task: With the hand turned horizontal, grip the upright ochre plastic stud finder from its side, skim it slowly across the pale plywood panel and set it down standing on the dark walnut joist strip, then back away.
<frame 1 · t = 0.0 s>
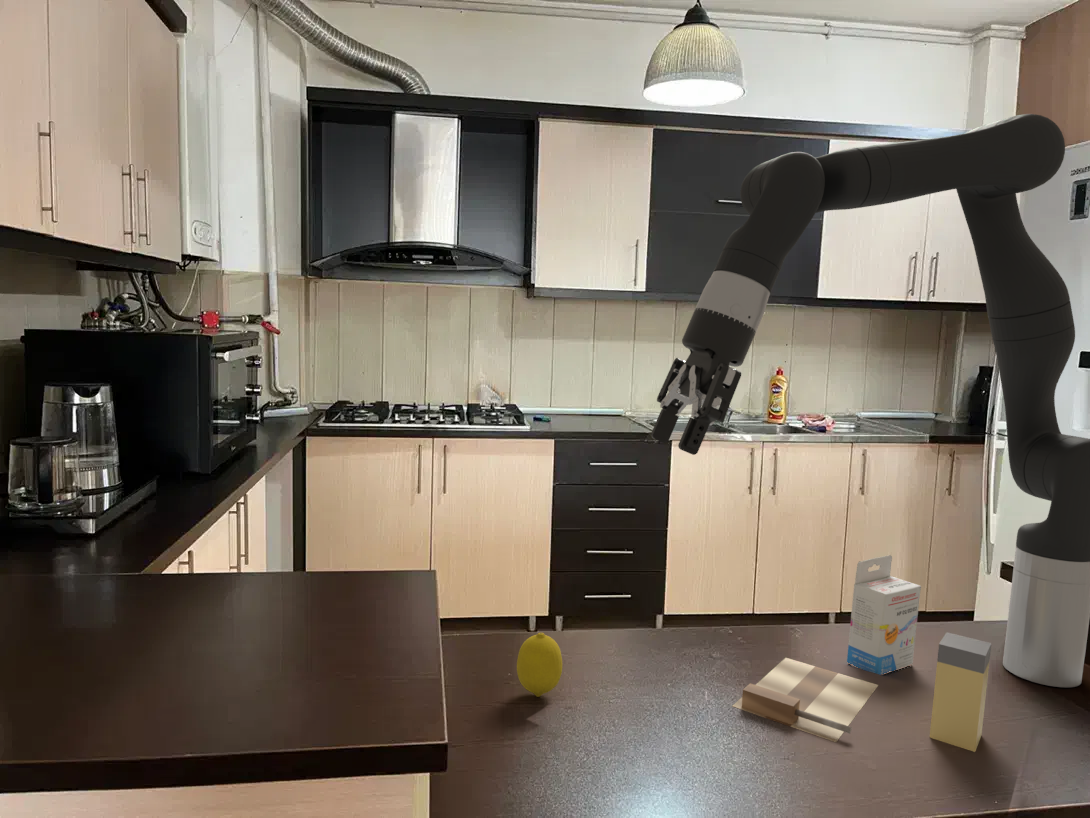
hand: (671, 446, 90), 31 cm above the counter, tool tilted 20°, fingers open, 8 cm apart
awl: (786, 718, 88), point 1 cm above the counter, touching plywood panel
lemon: (538, 697, 94), on the counter
plywood panel: (807, 704, 95), on the counter
ink box: (879, 666, 107), on the counter
stud finder: (954, 746, 86), on the counter
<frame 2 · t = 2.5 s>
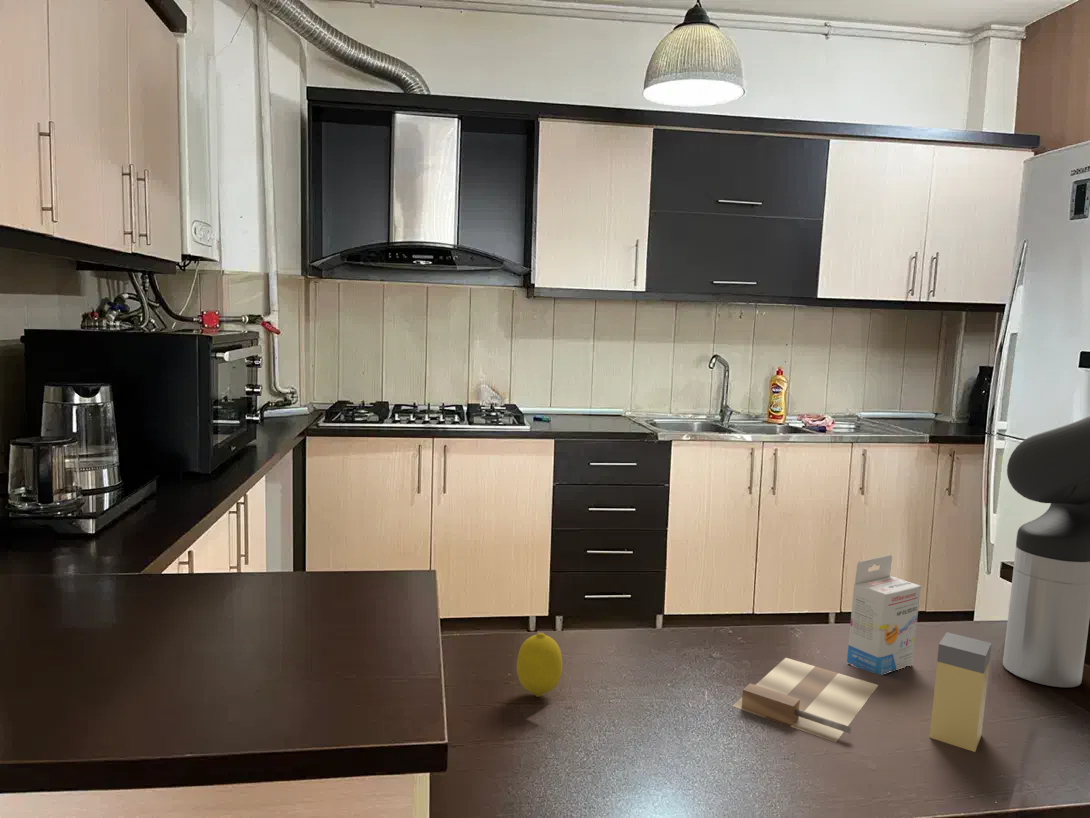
nothing on the counter moved.
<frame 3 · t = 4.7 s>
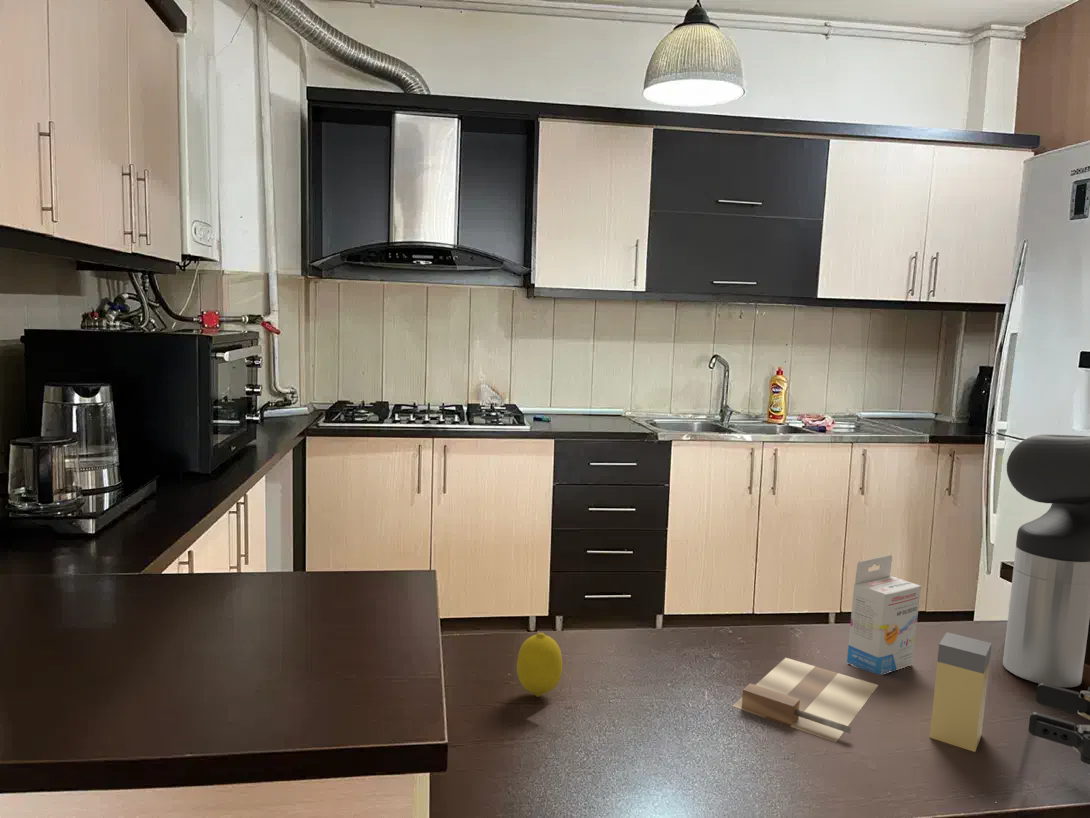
hand: (1033, 706, 81), 7 cm above the counter, tool horizontal, fingers open, 8 cm apart
nothing on the counter moved.
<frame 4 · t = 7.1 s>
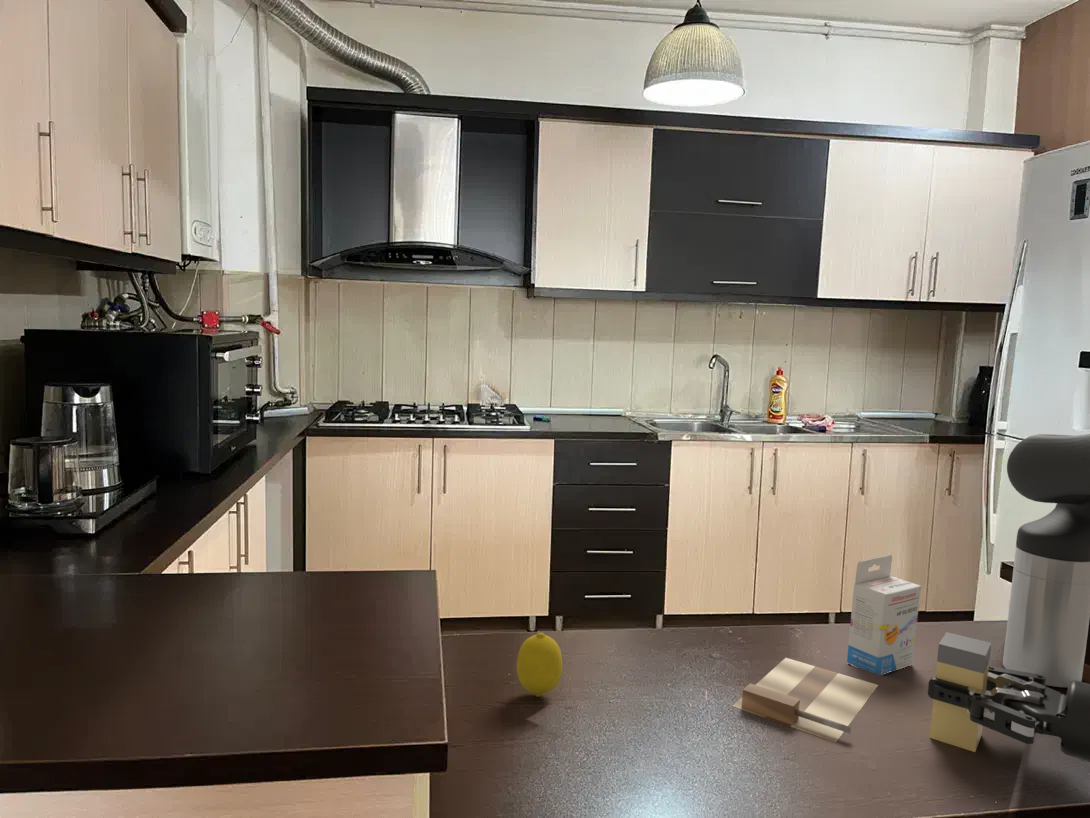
hand: (934, 679, 87), 7 cm above the counter, tool horizontal, fingers closed on stud finder, 4 cm apart
stud finder: (954, 746, 86), on the counter, touching gripper
everything else where it was.
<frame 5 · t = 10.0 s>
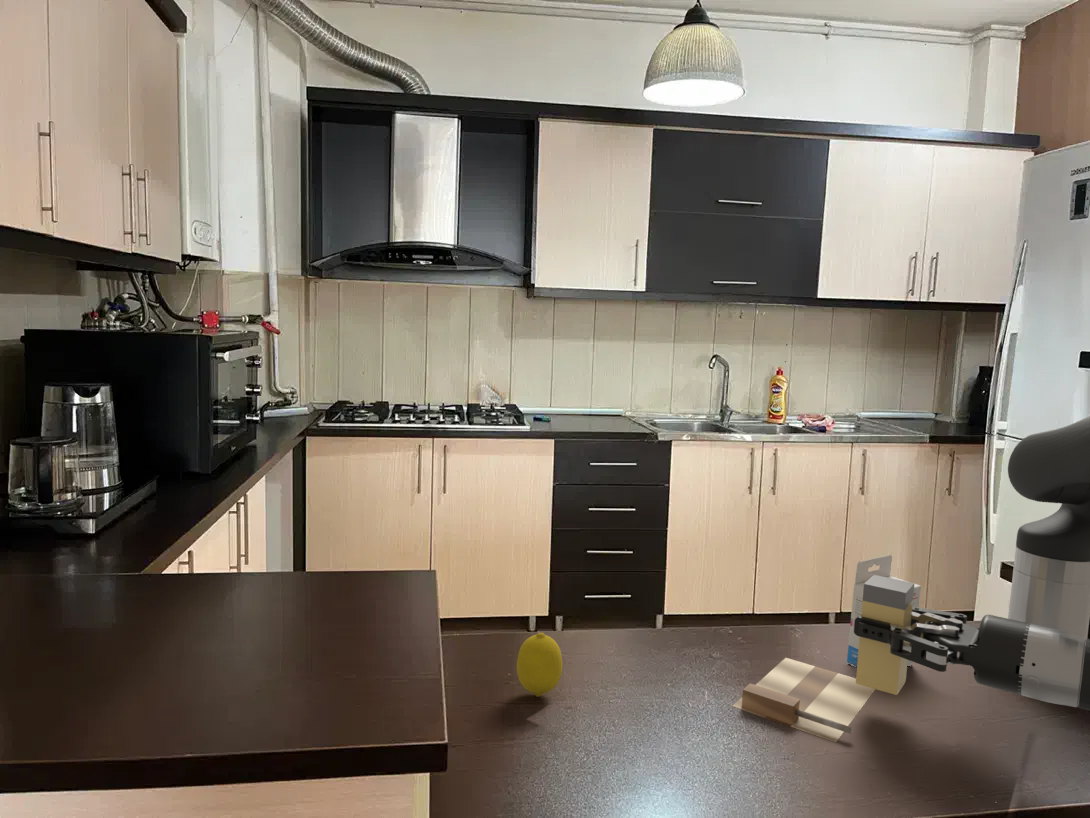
hand: (861, 619, 91), 12 cm above the counter, tool horizontal, fingers closed on stud finder, 4 cm apart
stud finder: (880, 682, 91), point 5 cm above the counter, touching gripper
everything else where it was.
when the fingers open (9 cm above the counter, at t = 12.9 s): stud finder drops 1 cm, resting on plywood panel.
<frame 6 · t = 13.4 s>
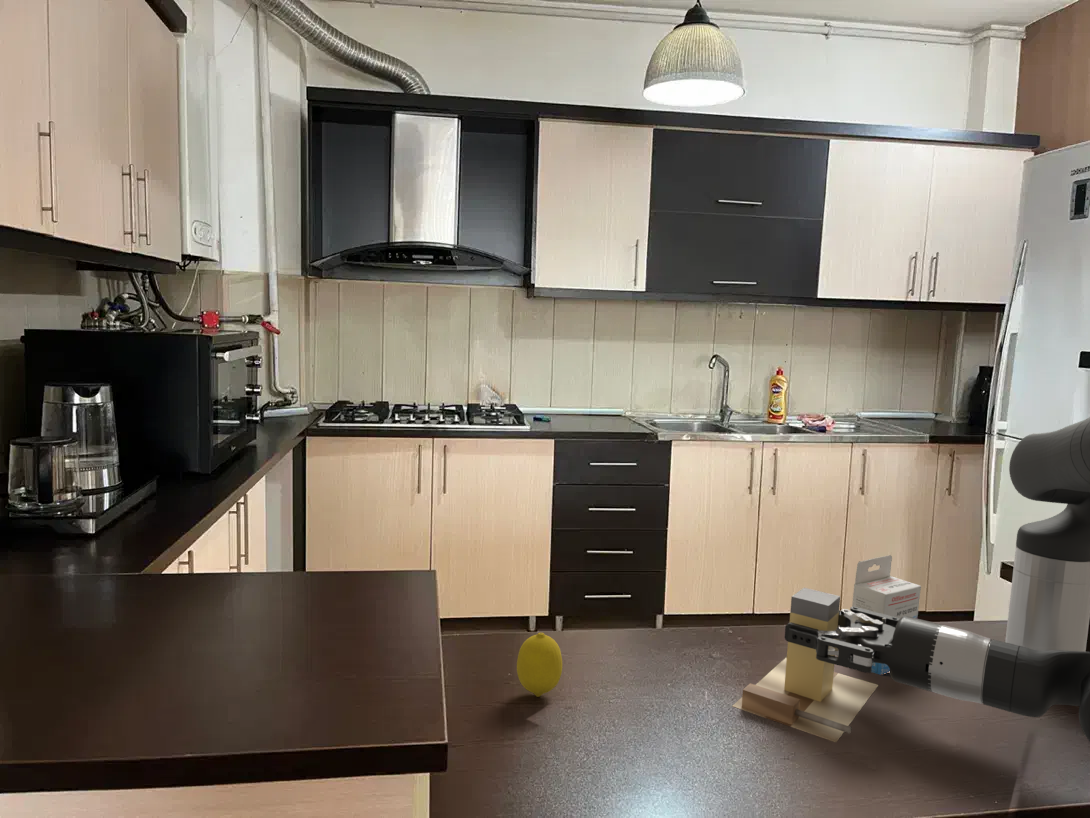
hand: (797, 621, 96), 10 cm above the counter, tool horizontal, fingers open, 8 cm apart
stud finder: (808, 689, 96), point 1 cm above the counter, touching plywood panel
everything else where it was.
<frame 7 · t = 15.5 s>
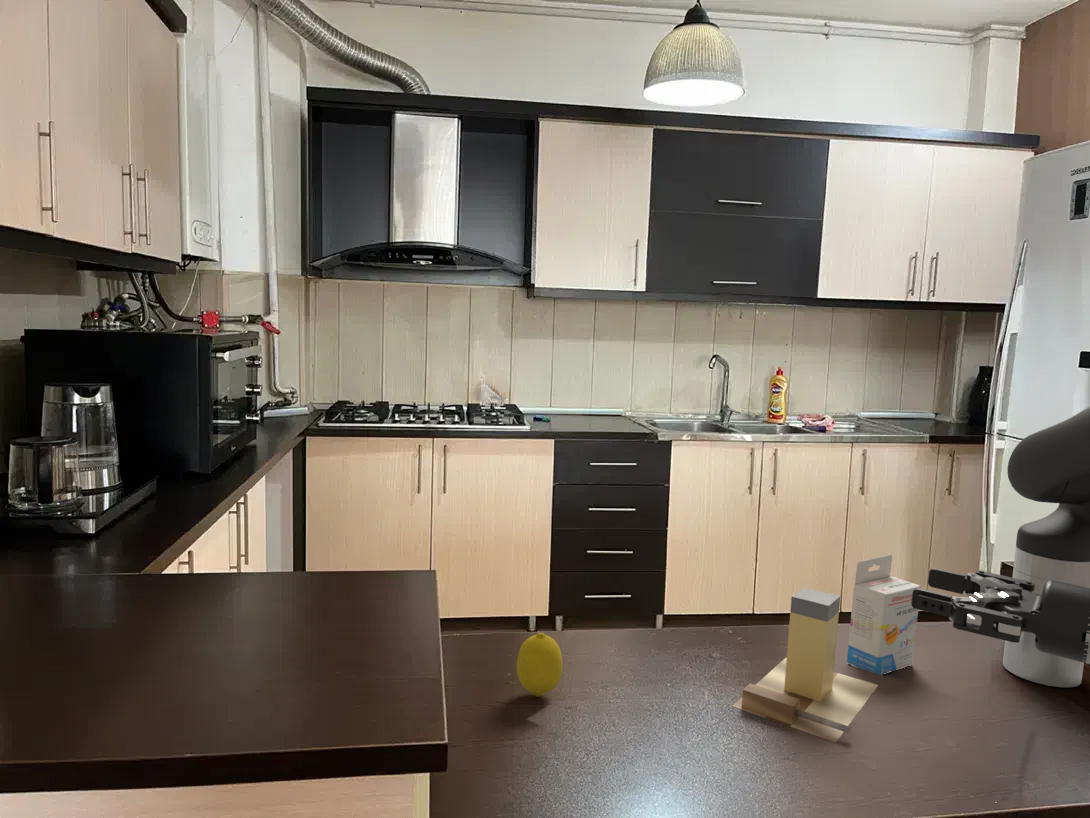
hand: (921, 586, 88), 17 cm above the counter, tool horizontal, fingers open, 8 cm apart
nothing on the counter moved.
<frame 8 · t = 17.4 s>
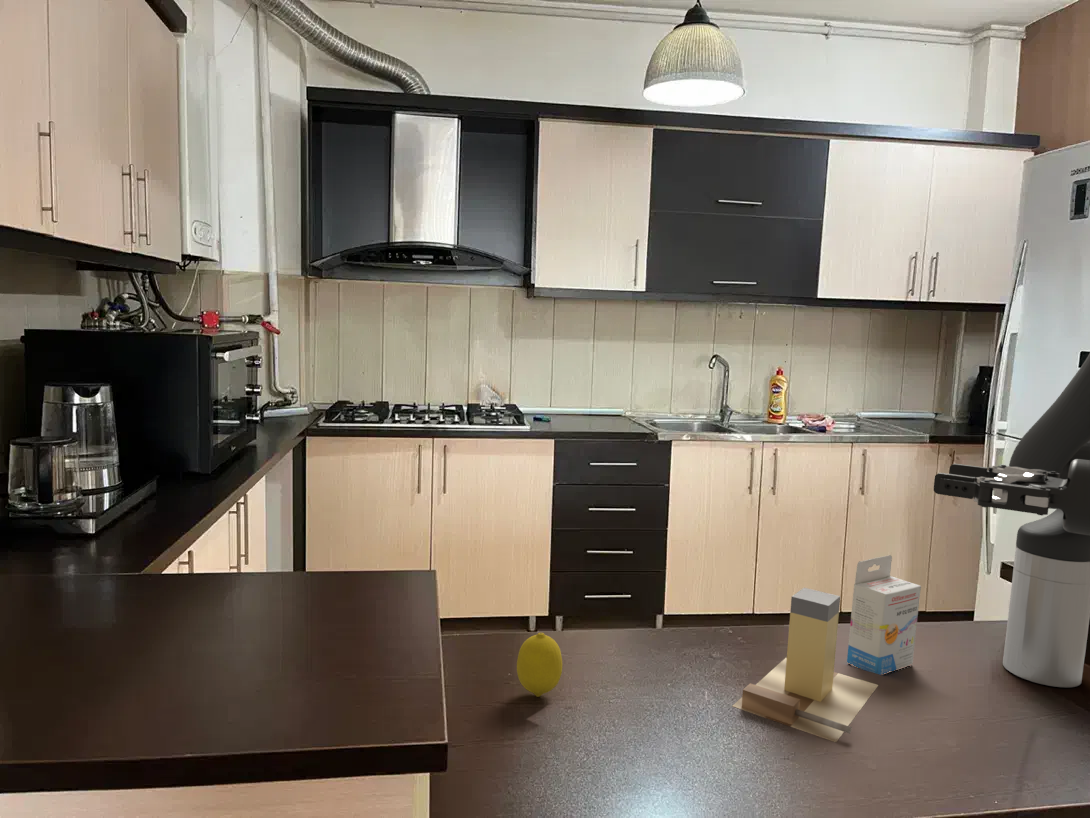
hand: (942, 477, 85), 30 cm above the counter, tool horizontal, fingers open, 8 cm apart
nothing on the counter moved.
at the end: stud finder inside the target area (0.1 cm from its centre), point 1.2 cm above the counter; stud finder tilted 0°; the gripper is holding nothing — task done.
